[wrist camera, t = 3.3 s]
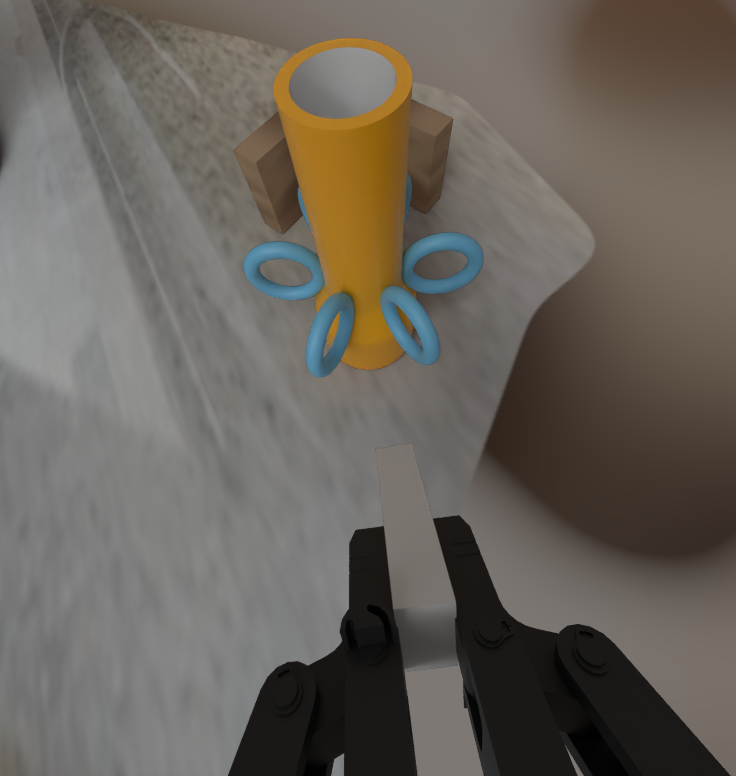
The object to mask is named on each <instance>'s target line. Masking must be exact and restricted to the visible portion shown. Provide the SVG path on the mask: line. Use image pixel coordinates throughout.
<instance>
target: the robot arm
mask: <svg viewBox="0 0 736 776" xmlns="http://www.w3.org/2000/svg"><path fill="white" fill-rule="evenodd" d="M375 450H376V459H377V468H378V477H379V486H380V495H381V504H382V513H383V522H384V526H382V527H375V528H367V529H359V530H355V532H354V534H353V537H352V539H351V541H350V543H349V560H350V561H349V572H350V574H349V609H348V611H347V612H346V614H345V616H344V617H343V619H342V622H341V627H340V634H341V638H342V642H341V644H340V645H339V646H338V647H337V648H336V649H335V650H334V651H333V652H332V653H330V654H329V655H327V656H326V657H324V658H322V659H320V660H318V661H316V662H314V663H312V664H310V665H309V666H307V665H305V664H303V663H301V662H298V661H295V662H287V663H285V664H283V665H281V666H279V667H277V668H276V669H275V670H274V671H273V672H272V673H271V674H270V675H269V676H268V677H267V679H266V681H265V683H264V685H263V686H262V688H261V690H260V693H259V695H258V698H257V701H256V703H255V706H254V709H253V711H252V714H251V716H250V719H249V722H248V724H247V727H246V730H245V732H244V735H243V737H242V740H241V743H240V745H239V748H238V751H237V753H236V756H235V758H234V761H233V764H232V766H231V769H230V771H229V774H228V776H331V773H332V768H333V763H334V759H335V758H337V757H339V756H340V755H342V754H343V753H344V776H417V767H416V760H415V751H414V743H413V735H412V727H411V719H410V711H409V703H408V696H407V689H406V681H405V673H404V672H410V671H417V670H426V669H434V668H441V667H449V666H457V665H458V661H459V665H460V669H461V673H462V677H463V694H464V696H463V698H464V708H468V712H469V716H470V720H471V724H472V729H473V733H474V737H475V741H476V745H477V749H478V753H479V758H480V762H481V766H482V770H483V774H484V776H577V773H576V771H575V769H574V766H573V764H572V761H571V759H570V756H569V754H568V751H567V749H568V750H569V752H570V754H571V755H572V757H573V758H574V760H575V762H576V763H577V765H578V767H579V768H580V770H581V772H582V773H583V775H584V776H730V775H729V773H728V772H727V771H726V770H725V769H724V768H723V767H722V765H721V764H720V763H719V762H718V761H717V760H716V759H715V758H714V756H713V755H712V754H711V753H710V752H709V751H708V750H707V748H706V747H705V746H704V745H703V744H702V743H701V742H700V740H699V739H698V738H697V737H696V736H695V735H694V734H693V733H692V731H691V730H690V729H689V728H688V727H687V726H686V725H685V723H684V722H683V721H682V720H681V719H680V718H679V717H678V715H677V714H676V713H675V712H674V711H673V710H672V709H671V708H670V706H669V705H668V704H667V703H666V702H665V701H664V699H663V698H662V697H661V696H660V695H659V694H658V693H657V692H656V691H655V689H654V688H653V687H652V686H651V685H650V684H649V682H648V681H647V680H646V679H645V678H644V677H643V676H642V674H641V673H640V672H639V671H638V670H637V669H636V668H635V667H634V665H633V664H632V663H631V662H630V661H629V660H628V659H627V657H626V656H625V655H624V654H623V653H622V652H621V651H620V649H619V648H618V647H617V646H616V645H615V644H614V643H613V642H612V641H611V640H610V639H609V638H607V637H606V636H605V635H604V634H603V633H601V632H599V631H597V630H595V629H594V628H592V627H589V626H585V625H580V624H575V625H569V626H566V627H565V628H564V629H563V630H561V631H560V633H559V634H558V633H553V632H549V631H544V630H539V629H535V628H532V627H529V626H526V625H524V624H522V623H520V622H518V621H517V620H515V619H514V618H513V617H512V616H511V615H509V614H508V612H507V611H506V610H505V609H504V608H503V606H502V604H501V602H500V600H499V598H498V595H497V593H496V590H495V588H494V586H493V583H492V581H491V578H490V576H489V573H488V570H487V568H486V566H485V563H484V561H483V558H482V556H481V554H480V550H479V548H478V545H477V544H476V541H475V538H474V535H473V533H472V530H471V528H470V526H469V525H468V524H467V523H466V522H465V521H464V520H463V519H462V518H461V517H460V516H459V515H458V516H450V517H443V518H435V519H433V518H432V515H431V511H430V507H429V504H428V500H427V497H426V493H425V490H424V486H423V482H422V479H421V475H420V472H419V468H418V465H417V461H416V458H415V454H414V450H413V447H412V444H408V445H401V446H393V447H386V448H378V449H375ZM565 745H566V747H567V749H566V747H565Z"/></svg>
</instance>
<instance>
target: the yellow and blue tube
mask: <svg viewBox="0 0 736 776" xmlns="http://www.w3.org/2000/svg"><path fill="white" fill-rule="evenodd" d="M411 96H412V71H411V68H410V66H409V64H408V62H407V61H406V59H405V58H404V57H403V56H402V55H401V54H400V53H399V52H397V51H396V50H395V49H393V48H391V47H389V46H387V45H385V44H382V43H380V42H376V41H373V40H368V39H360V38H343V39H334V40H329V41H325V42H321V43H318V44H315V45H312V46H310V47H308V48H306V49H304V50H302V51H300V52H299V53H297V54H296V55H294V56H293V57H292V58H290V59H289V60H288V61H287V62H286V63H285V64H284V65H283V66H282V68H281V69H280V71H279V72H278V74H277V76H276V79H275V82H274V97H275V101H276V105H277V108H278V112H279V115H280V119H281V123H282V126H283V130H284V133H285V137H286V141H287V144H288V148H289V152H290V155H291V159H292V162H293V166H294V170H295V173H296V177H297V181H298V184H299V188H298V200H299V204H300V208H301V210H302V213H303V216H304V218H305V220H306V222H307V225H308V227H309V229H310V230H311V232H312V235H313V239H314V242H315V246H316V250H317V253H318V256H317V255H316V254H315V253H314V252H312V251H311V250H309V249H307V248H305V247H303V246H301V245H298V244H295V243H290V242H283V241H273V242H267V243H263V244H260V245H258V246H256V247H254V248H253V249H252V250H251V251H250V252H249V253H248V254H247V256H246V257H245V260H244V272H245V275H246V277H247V279H248V280H249V282H250V283H251V284H252V285H253V286H254V287H255V288H257V289H258V290H259V291H261V292H263V293H265V294H267V295H269V296H272V297H275V298H279V299H284V300H302V299H306V298H310V297H312V296H314V295H316V301H315V304H316V312H317V315H316V317H315V319H314V322H313V324H312V327H311V330H310V333H309V337H308V341H307V347H306V364H307V367H308V370H309V372H310V373H311V374H312V375H313V376H315V377H325V376H327V375H329V374H330V373H331V372H332V371H333V370H334V369H335V368H336V366H337V365H338V363H339V362H340V361H342V362H343V363H345V364H346V365H348V366H351V367H353V368H357V369H363V370H373V369H379V368H382V367H386V366H388V365H390V364H392V363H394V362H395V361H396V360H398V359H399V358H400V357H401V356H402V355H403V354H404V353H405V352H406V353H407V354H408V355H409V356H410V357H411V358H412V359H414V360H415V361H416V362H418V363H420V364H423V365H430V364H433V363H434V362H436V360H437V359H438V357H439V354H440V343H439V338H438V335H437V332H436V330H435V327H434V325H433V323H432V321H431V319H430V317H429V316H428V314H427V312H426V311H425V309H424V308H423V307H422V305H421V304H420V303H419V302H418V300H417V296H416V291H417V292H421V293H426V294H440V293H446V292H450V291H454V290H456V289H459V288H461V287H463V286H465V285H466V284H468V283H469V282H470V281H472V280H473V279H474V278H475V277H476V276H477V274H478V273H479V272H480V270H481V268H482V265H483V260H484V256H483V251H482V249H481V247H480V245H479V244H478V243H477V242H476V241H475V240H474V239H472V238H471V237H469V236H467V235H464V234H460V233H453V232H444V233H437V234H433V235H429V236H427V237H424V238H422V239H420V240H418V241H417V242H415V243H414V244H412V245H411V246H410V247H409V248H408V249H407V250H406V251H405V252H404V254H403V239H404V226H405V223H406V219H407V216H408V211H409V207H410V201H411V192H412V184H411V178H410V176H409V174H408V173H407V167H408V149H409V131H410V114H411ZM443 250H452V251H457V252H460V253H462V254H464V255H465V256H466V257H467V264H466V266H465V267H464V268H463V269H462V270H461V271H460V272H459V273H457V274H455V275H453V276H451V277H448V278H444V279H438V280H430V279H425V278H422V277H419V276H418V275H416V274H415V272H414V266H415V264H416V263H417V261H418V260H420V259H421V258H422V257H424V256H426V255H428V254H430V253H433V252H437V251H443ZM271 259H289V260H293V261H296V262H299V263H301V264H303V265H305V266H306V267H307V268H308V269H309V270H310V271H311V272H312V274H313V277H312V279H311V281H309V282H308V283H306V284H304V285H300V286H284V285H280V284H276V283H274V282H272V281H270V280H268V279H267V278H265V277H264V276H263V275H262V274H261V272H260V266H261V264H262V263H264V262H266V261H268V260H271ZM413 327H414V328H415V329H416V331H417V333H418V335H419V338H420V340H421V343H422V346H423V347H421V346H420V345H419V344H418V343H417V342H416V341H415V340H414V339H413V338H412V334H413ZM326 340H327V343H328V345H329V348H330V350H329V352H328V353H327V355H326V356H325V358H324V359H323V352H324V346H325V342H326Z"/></svg>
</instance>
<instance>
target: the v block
mask: <svg viewBox="0 0 736 776" xmlns="http://www.w3.org/2000/svg"><path fill="white" fill-rule="evenodd" d="M452 123H453V118H452V117H450V116H447V115H445V114H443V113H441V112H438V111H436V110H434V109H432V108H429V107H427V106H425V105H423V104H420V103H418V102H416V101H414V100H411V114H410V131H409V149H408V167H407V173H408V174H409V176H410V178H411V184H412V192H411V201H410V206H411V207H413V208H415V209H417V210H419V211H421V212H422V213H424V214H426V213H427V212H428V211H429V210H430V209H431V207H432V206H433V205H434V204H435V203H436V202H437V201H438V200H439V198H440V195H441V189H442V183H443V177H444V171H445V165H446V159H447V153H448V147H449V141H450V135H451V129H452ZM233 151H234V153H235V155H236V157H237V160H238V162H239V164H240V167H241V169H242V171H243V174H244V176H245V178H246V181H247V183H248V185H249V188H250V190H251V192H252V194H253V197H254V199H255V201H256V204H257V206H258V208H259V211H260V213H261V215H262V218H263V220H264V222H265V223H266V224H267V225H269V226H270V227H272V228H274V229H275V230H277V231H278V232H280V233H282V234H284V233H285V232H286V231H287V230H288V229H289V228H290V227H291V226H292V225H293V224H294V223H295V222H296V221H297V220H298V219H299V218H300V217H301V216H302V215H303V213H302V210H301V208H300V204H299V200H298V188H299V184H298V181H297V177H296V173H295V170H294V166H293V162H292V159H291V155H290V152H289V148H288V144H287V141H286V137H285V133H284V130H283V126H282V123H281V119H280V115H279V112H277V113H276V114H275V115H274V116H272V117H271V118H270V119H269V120H268V121H267V122H265V123H264V124H263V125H262V126H261V127H260V128H258V129H257V130H256V131H255V132H254V133H253V134H251V135H250V136H249V137H248V138H247V139H246V140H244V141H243V142H242V143H241V144H240V145H239V146H237V147H236V148H235V149H234V150H233Z"/></svg>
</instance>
